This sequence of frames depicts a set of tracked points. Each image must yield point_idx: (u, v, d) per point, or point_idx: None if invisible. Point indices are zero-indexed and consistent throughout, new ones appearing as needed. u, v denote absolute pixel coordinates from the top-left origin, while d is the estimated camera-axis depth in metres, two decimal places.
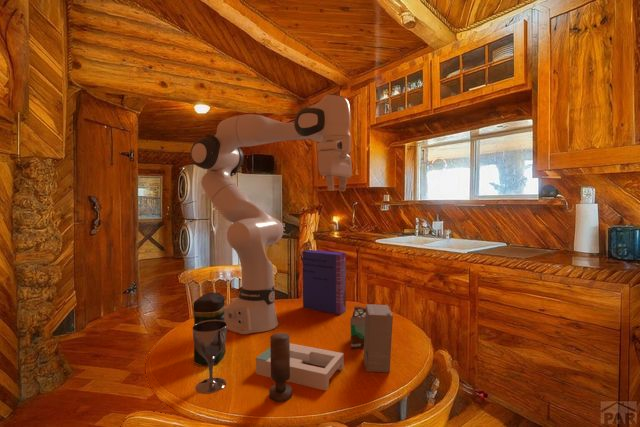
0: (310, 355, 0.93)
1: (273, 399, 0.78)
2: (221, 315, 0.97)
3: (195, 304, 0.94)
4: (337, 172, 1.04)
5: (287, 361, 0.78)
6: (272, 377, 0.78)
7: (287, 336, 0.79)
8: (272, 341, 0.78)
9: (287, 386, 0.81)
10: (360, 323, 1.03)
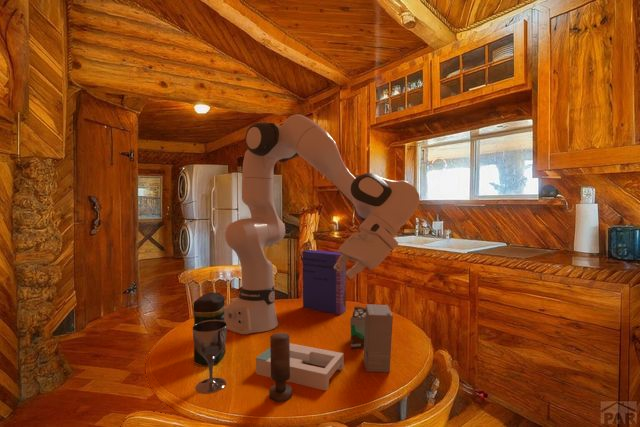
0: (310, 355, 0.93)
1: (273, 399, 0.78)
2: (221, 315, 0.97)
3: (195, 304, 0.94)
4: None
5: (287, 361, 0.78)
6: (272, 377, 0.78)
7: (287, 336, 0.79)
8: (272, 341, 0.78)
9: (287, 386, 0.81)
10: (360, 323, 1.03)
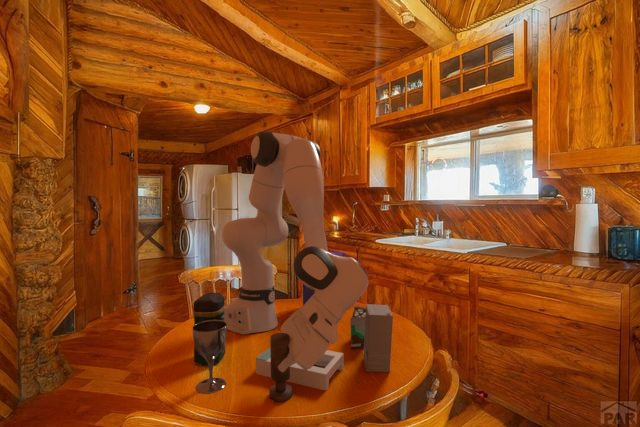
0: None
1: (273, 399, 0.78)
2: (221, 315, 0.97)
3: (195, 304, 0.94)
4: None
5: None
6: (272, 377, 0.78)
7: (287, 336, 0.79)
8: (272, 341, 0.78)
9: (287, 386, 0.81)
10: (360, 323, 1.03)
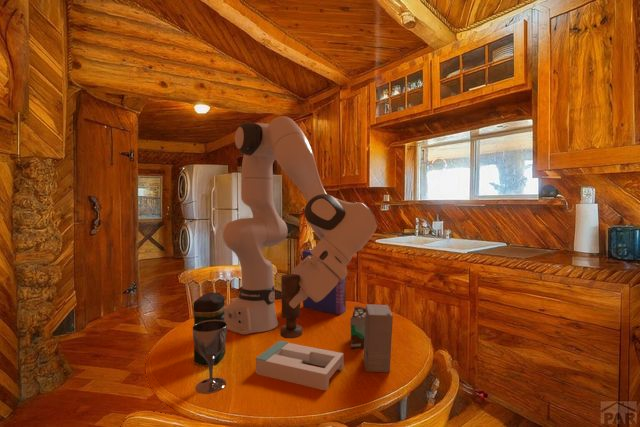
0: (310, 355, 0.93)
1: (284, 336, 0.80)
2: (221, 315, 0.97)
3: (195, 304, 0.94)
4: None
5: None
6: (283, 315, 0.81)
7: (298, 276, 0.82)
8: (283, 279, 0.80)
9: (297, 326, 0.84)
10: (360, 323, 1.03)
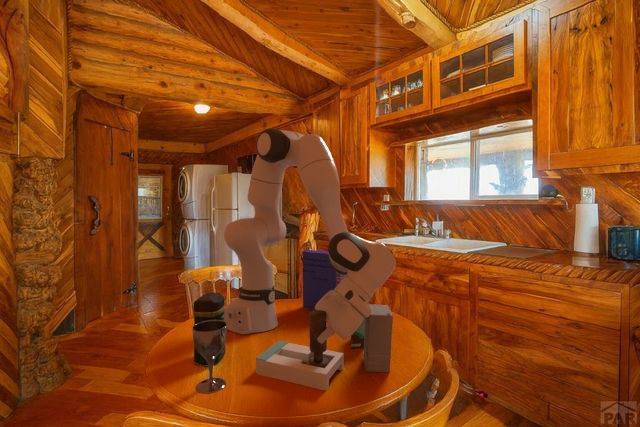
0: (310, 355, 0.93)
1: None
2: (221, 315, 0.97)
3: (195, 304, 0.94)
4: None
5: None
6: (311, 349, 0.88)
7: (324, 312, 0.89)
8: (311, 316, 0.87)
9: (323, 358, 0.90)
10: None
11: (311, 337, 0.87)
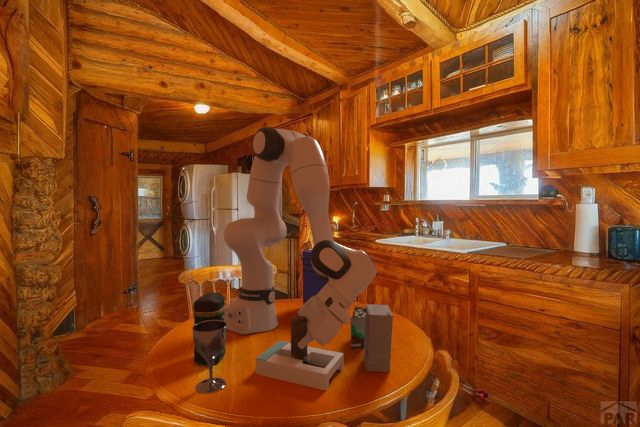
0: (310, 355, 0.93)
1: None
2: (221, 315, 0.97)
3: (195, 304, 0.94)
4: None
5: None
6: (292, 353, 0.90)
7: (305, 318, 0.91)
8: (292, 322, 0.89)
9: (304, 362, 0.93)
10: (360, 323, 1.03)
11: (292, 342, 0.90)
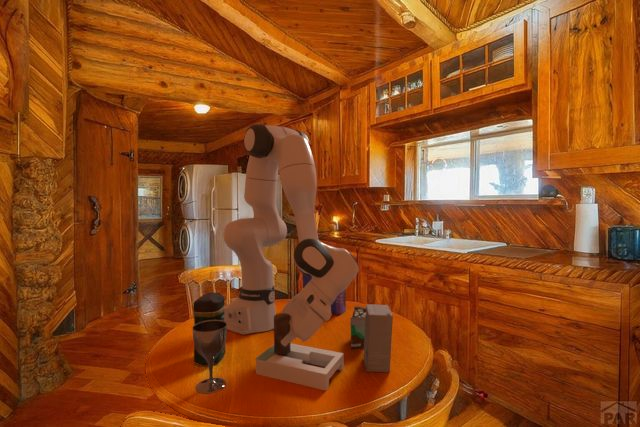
0: (310, 355, 0.93)
1: None
2: (221, 315, 0.97)
3: (195, 304, 0.94)
4: None
5: None
6: (275, 350, 0.92)
7: (288, 316, 0.93)
8: (275, 320, 0.91)
9: None
10: (360, 323, 1.03)
11: (275, 339, 0.92)
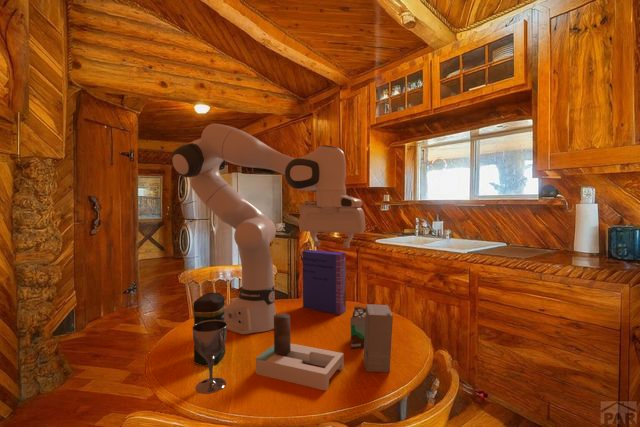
0: (310, 355, 0.93)
1: None
2: (221, 315, 0.97)
3: (195, 304, 0.94)
4: None
5: (288, 337, 0.92)
6: (275, 350, 0.92)
7: (288, 316, 0.93)
8: (275, 320, 0.91)
9: None
10: (360, 323, 1.03)
11: (275, 339, 0.92)
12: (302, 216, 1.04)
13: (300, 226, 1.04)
